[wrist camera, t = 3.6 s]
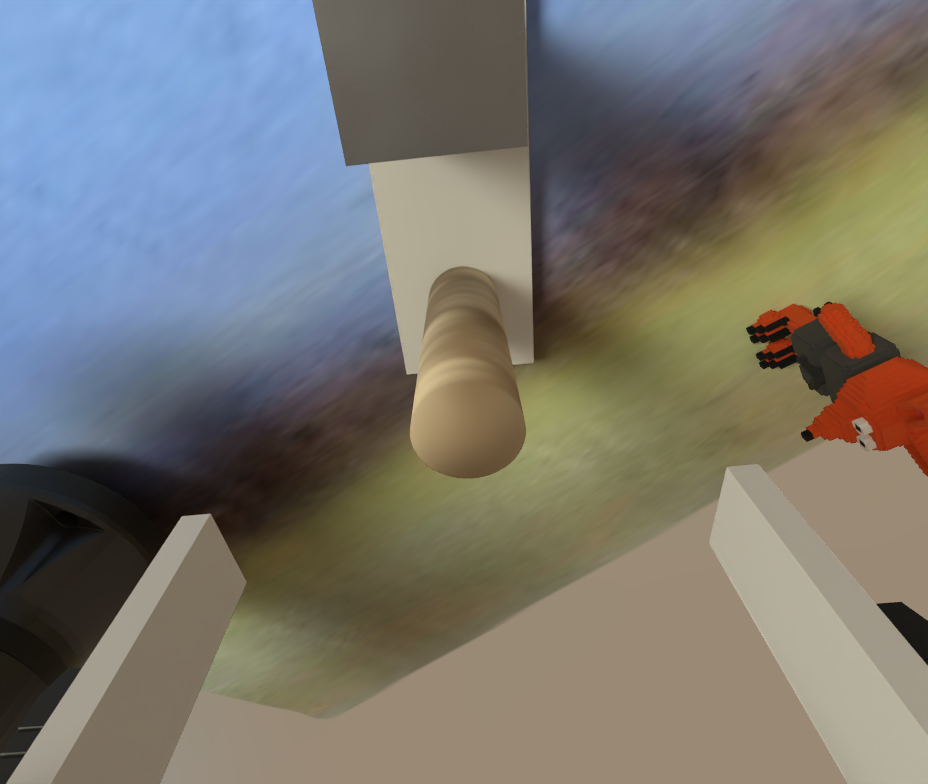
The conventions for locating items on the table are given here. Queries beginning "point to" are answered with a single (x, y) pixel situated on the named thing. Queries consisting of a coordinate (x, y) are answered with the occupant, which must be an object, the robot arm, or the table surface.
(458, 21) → the square bar
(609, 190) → the table surface
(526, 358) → the strip
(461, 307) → the beech dowel
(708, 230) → the table surface
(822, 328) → the toy animal
